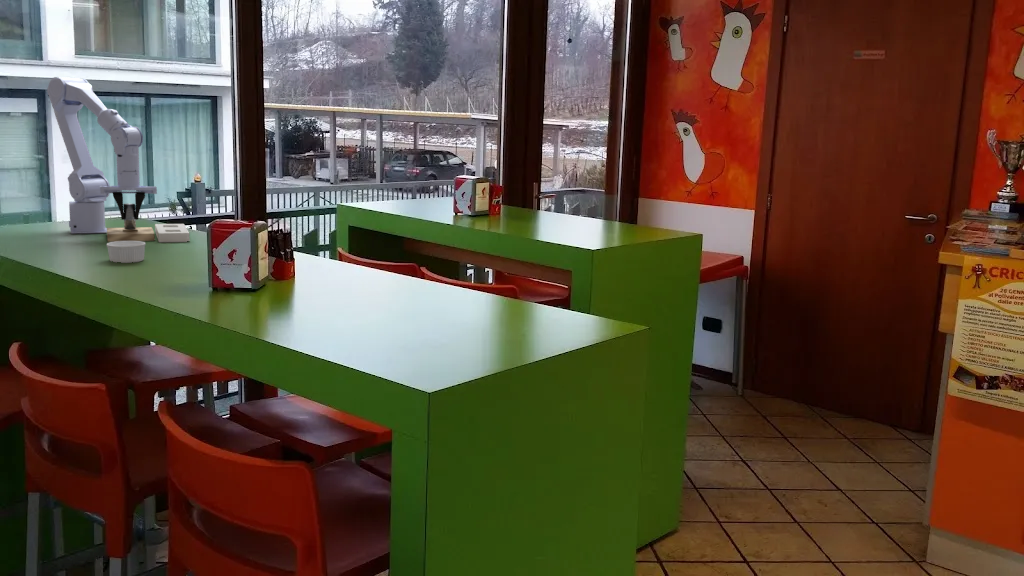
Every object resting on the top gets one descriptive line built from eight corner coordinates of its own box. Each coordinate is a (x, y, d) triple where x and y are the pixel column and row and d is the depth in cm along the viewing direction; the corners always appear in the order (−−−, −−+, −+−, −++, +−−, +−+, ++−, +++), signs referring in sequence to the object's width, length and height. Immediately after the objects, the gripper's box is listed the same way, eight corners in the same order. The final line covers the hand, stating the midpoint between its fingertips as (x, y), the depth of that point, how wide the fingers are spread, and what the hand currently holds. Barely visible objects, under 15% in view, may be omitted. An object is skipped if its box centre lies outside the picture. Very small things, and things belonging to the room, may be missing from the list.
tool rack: (159, 242, 252) (158, 233, 251) (155, 232, 268) (155, 224, 267) (189, 241, 255) (189, 233, 254) (183, 232, 271) (183, 223, 270)
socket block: (107, 241, 249) (107, 234, 249) (107, 234, 260) (106, 227, 259) (154, 240, 254) (154, 233, 253) (152, 234, 265) (151, 227, 264)
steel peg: (124, 229, 254) (123, 204, 253) (124, 228, 257) (123, 203, 256) (136, 229, 256) (135, 204, 254) (135, 227, 258) (134, 203, 257)
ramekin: (107, 264, 219) (106, 246, 218) (107, 257, 227) (106, 240, 226) (146, 263, 223) (146, 245, 222) (145, 256, 231) (144, 240, 230)
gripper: (99, 171, 246) (101, 221, 249) (156, 172, 252) (158, 220, 255) (99, 169, 253) (101, 217, 255) (155, 170, 259) (156, 217, 261)
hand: (129, 219), depth 256 cm, fingers closed on steel peg, 3 cm apart
